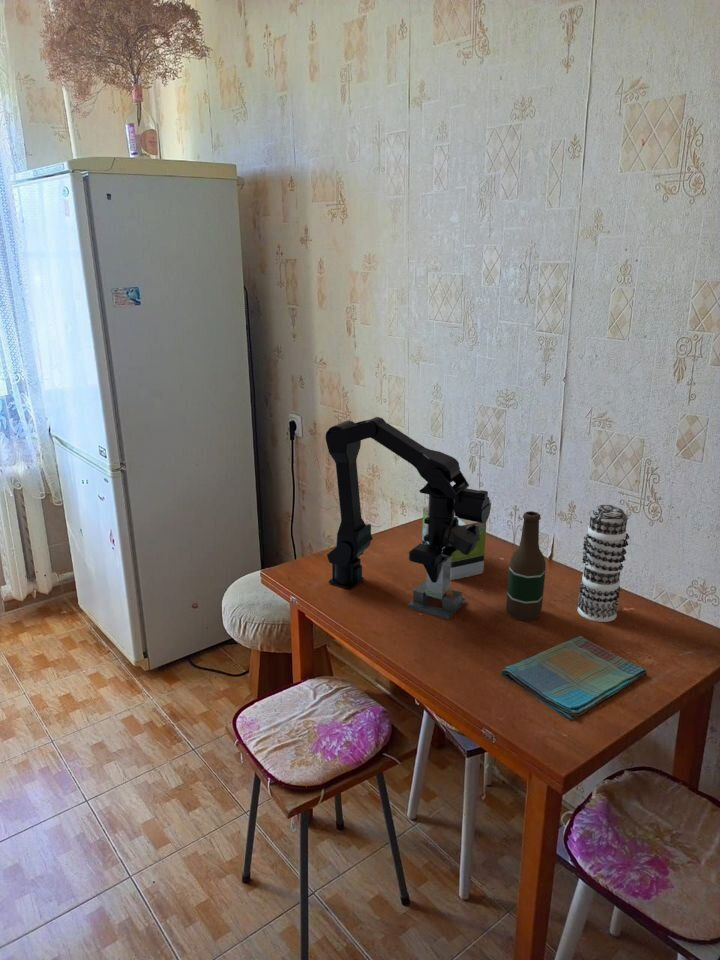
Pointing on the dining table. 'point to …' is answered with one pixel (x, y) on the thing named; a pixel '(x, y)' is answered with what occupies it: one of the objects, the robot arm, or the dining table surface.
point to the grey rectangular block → (440, 580)
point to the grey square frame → (449, 602)
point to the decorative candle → (603, 563)
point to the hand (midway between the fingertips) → (438, 578)
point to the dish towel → (573, 676)
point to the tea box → (459, 561)
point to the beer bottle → (526, 573)
